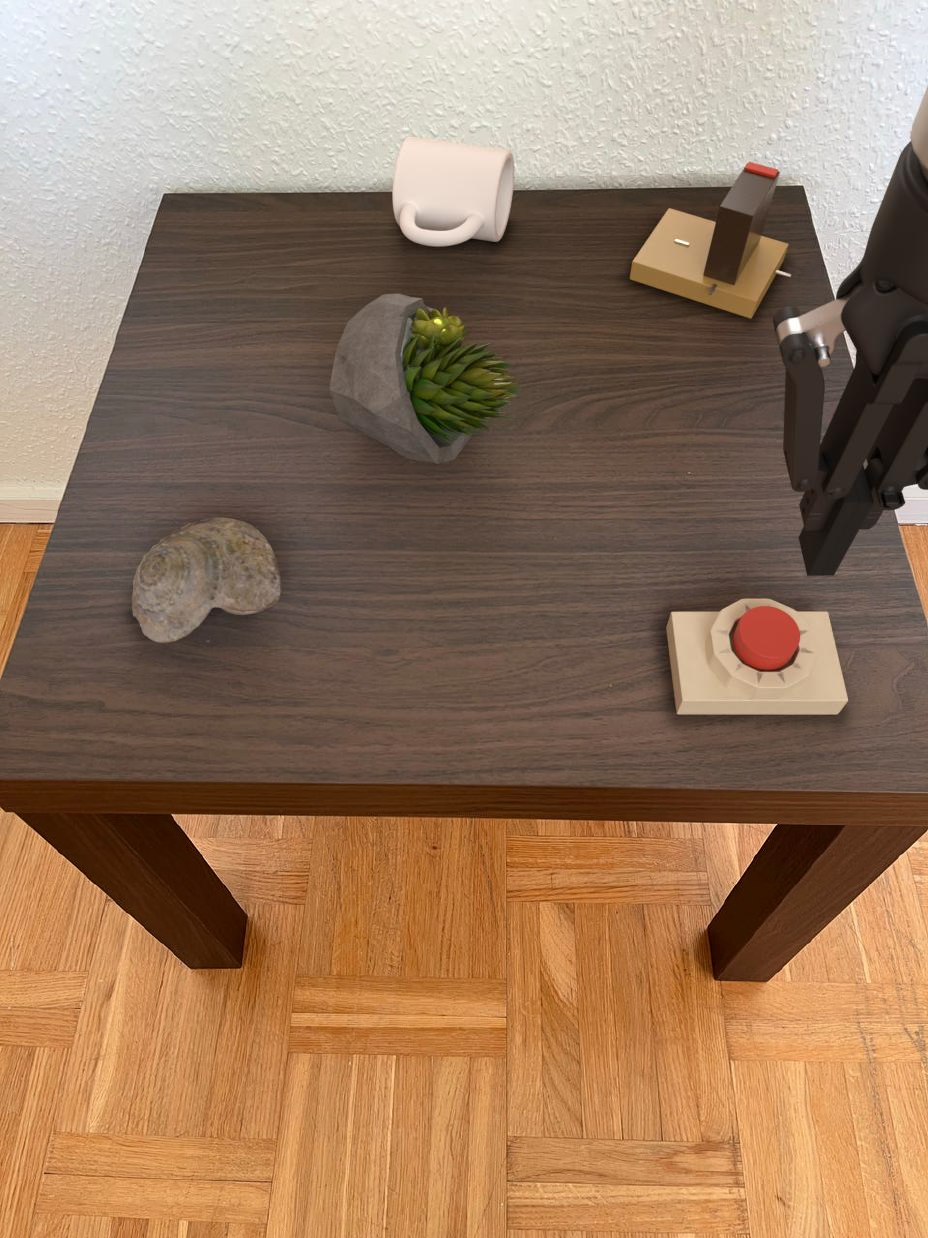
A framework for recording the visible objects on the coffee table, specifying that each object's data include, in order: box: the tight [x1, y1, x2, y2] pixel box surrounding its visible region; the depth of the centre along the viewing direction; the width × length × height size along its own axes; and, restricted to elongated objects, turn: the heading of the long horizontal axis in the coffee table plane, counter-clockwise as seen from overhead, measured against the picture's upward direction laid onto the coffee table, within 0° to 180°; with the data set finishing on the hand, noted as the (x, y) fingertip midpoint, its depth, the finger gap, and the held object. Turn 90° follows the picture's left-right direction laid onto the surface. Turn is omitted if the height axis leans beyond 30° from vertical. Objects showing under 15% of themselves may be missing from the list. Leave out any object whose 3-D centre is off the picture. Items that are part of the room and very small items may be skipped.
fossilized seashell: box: [131, 516, 283, 644], centre depth 66 cm, size 11×11×7 cm
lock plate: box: [629, 207, 792, 320], centre depth 85 cm, size 14×11×2 cm
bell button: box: [733, 606, 800, 670], centre depth 60 cm, size 4×4×2 cm
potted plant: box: [328, 293, 522, 464], centre depth 72 cm, size 12×13×15 cm
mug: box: [391, 136, 515, 247], centre depth 86 cm, size 12×10×8 cm
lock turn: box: [703, 161, 781, 285], centre depth 81 cm, size 7×3×7 cm, turn 152°
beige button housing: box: [665, 598, 849, 716], centre depth 63 cm, size 11×7×4 cm, turn 89°
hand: (815, 556), depth 52 cm, fingers closed
